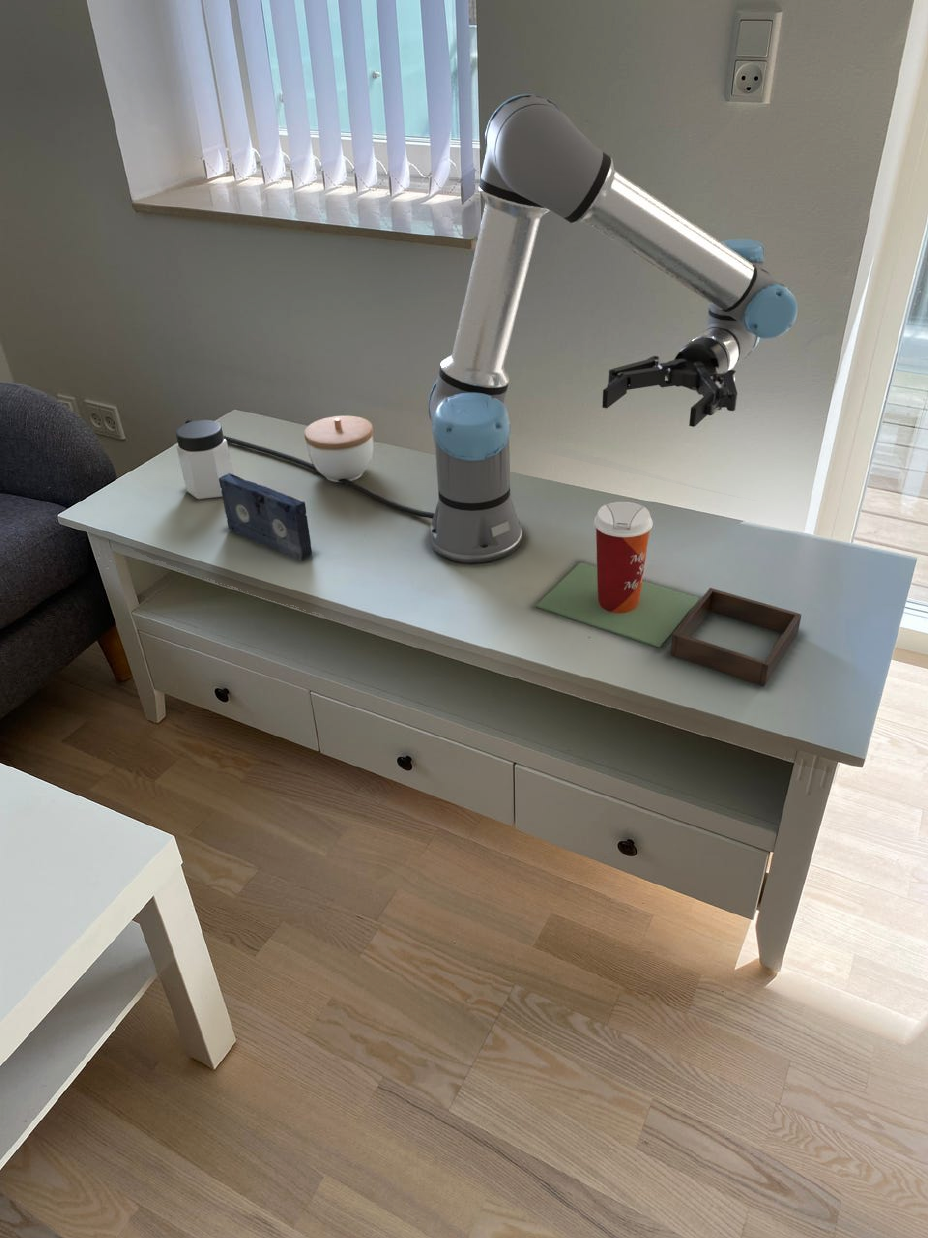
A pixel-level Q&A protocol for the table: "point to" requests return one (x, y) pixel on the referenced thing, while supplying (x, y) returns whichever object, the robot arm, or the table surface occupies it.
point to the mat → (644, 623)
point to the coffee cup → (621, 554)
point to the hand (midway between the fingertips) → (647, 408)
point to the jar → (203, 457)
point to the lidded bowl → (340, 446)
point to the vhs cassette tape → (266, 516)
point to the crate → (727, 658)
